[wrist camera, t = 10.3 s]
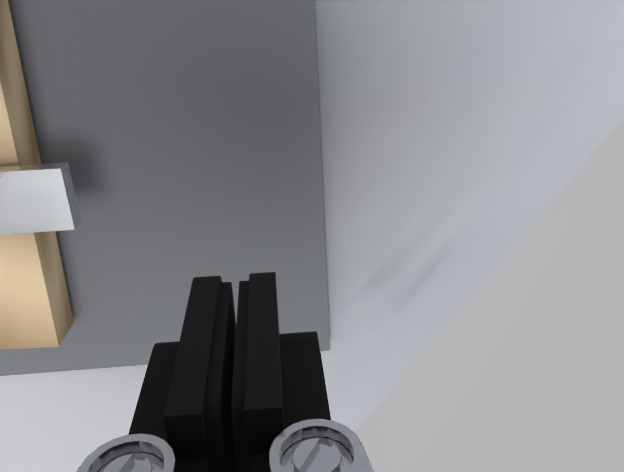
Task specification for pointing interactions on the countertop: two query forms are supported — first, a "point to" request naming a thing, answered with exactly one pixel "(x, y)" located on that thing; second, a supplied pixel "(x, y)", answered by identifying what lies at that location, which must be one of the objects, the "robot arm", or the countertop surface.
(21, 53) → the charcoal mat
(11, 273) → the oak link
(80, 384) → the countertop surface
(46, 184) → the steel keeper
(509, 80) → the countertop surface
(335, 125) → the countertop surface
